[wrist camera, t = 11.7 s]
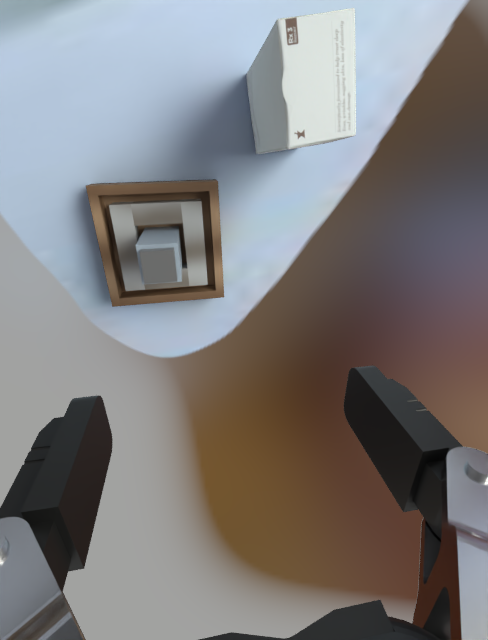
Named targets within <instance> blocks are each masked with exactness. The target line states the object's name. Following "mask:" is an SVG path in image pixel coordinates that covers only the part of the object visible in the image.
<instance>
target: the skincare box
mask: <svg viewBox="0 0 488 640" xmlns="http://www.w3.org/2000/svg"><path fill="white" fill-rule="evenodd" d="M246 77H247V87H248V95H249V104H250V112H251V120H252V128H253V134H254V139H255V149H256V154H264V153H270V152H276V151H282V150H289V149H295V148H301V147H306V146H313V145H318V144H324V143H329V142H333V141H337V140H341V139H345V138H348V137H352V136H355V134H356V74H355V9H354V8H351V9H344V10H338V11H331V12H326V13H319V14H312V15H304V16H297V17H289V18H282V19H277V21H276V22H275V24H274V26H273V28H272V30H271V31H270V33H269V35H268V37H267V39H266V41H265V42H264V44H263V46H262V47H261V49H260V51H259V53H258V55H257V57H256V58H255V60H254V62H253V64H252V65H251V67H250V69H249V71H248V72H247V74H246Z"/></svg>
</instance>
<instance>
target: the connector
mask: <svg viewBox="0 0 488 640" xmlns="http://www.w3.org/2000/svg"><path fill="white" fill-rule="evenodd" d="M136 251H137V257H138V263H139V269H140V275H141V281H142V284H156V283H170V282H182V253H181V243H180V234H179V226H167V227H146V228H145V229H144V231H143V232H142V234H141V236H140V238H139V240H138V242H137V244H136Z"/></svg>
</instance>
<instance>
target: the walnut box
mask: <svg viewBox="0 0 488 640" xmlns="http://www.w3.org/2000/svg"><path fill="white" fill-rule="evenodd" d="M86 189H87V194H88V198H89V203H90V207H91V212H92V216H93V221H94V225H95V230H96V234H97V239H98V243H99V248H100V252H101V257H102V261H103V266H104V270H105V275H106V279H107V284H108V288H109V293H110V297H111V302H112V307H113V306H125V305H137V304H149V303H161V302H172V301H184V300H196V299H208V298H220V297H224V287H223V268H222V249H221V231H220V212H219V194H218V181H217V180H216V179H213V180H184V181H156V182H128V183H100V184H90V185H87V186H86ZM167 226H179V234H180V243H181V253H182V282H170V283H156V284H142V281H141V275H140V269H139V263H138V257H137V251H136V244H137V242H138V240H139V238H140V236H141V234H142V232H143V231H144V229H145V228H146V227H167Z"/></svg>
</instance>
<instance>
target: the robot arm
mask: <svg viewBox="0 0 488 640" xmlns="http://www.w3.org/2000/svg"><path fill="white" fill-rule="evenodd" d="M344 412H345V416H346V419H347V421H348V423H349V425H350V426H351V428H352V430H353V431H354V433H355V435H356V436H357V438H358V439H359V441H360V443H361V444H362V446H363V447H364V449H365V451H366V452H367V454H368V456H369V457H370V458H371V460H372V462H373V464H374V465H375V467H376V469H377V470H378V472H379V474H380V475H381V477H382V478H383V480H384V482H385V483H386V485H387V486H388V488H389V490H390V491H391V493H392V494H393V496H394V498H395V499H396V501H397V503H398V504H399V506H400V507H401V509H402V510H403V512H407V511H412V510H418V509H419V511H420V512H421V514H422V515H423V517H424V518H423V520H422V524H421V545H420V564H419V585H418V596H417V602H416V606H415V611H414V616H413V623H409V622H407V621H404V620H400V619H397V618H393V617H388V616H387V614H386V612H385V610H384V608H383V605H382V603H381V601H380V600H377V601H372V602H368V603H363V604H359V605H354V606H350V607H345V608H341V609H336V610H333V611H332V612H330V613H329V614H327V615H325V616H324V617H322V618H321V619H319V620H317V621H316V622H314V623H313V624H311V625H310V626H308V627H307V628H305V629H303V630H302V631H300V632H299V633H297V634H296V635H294V636H292V637H290V638H286V639H281V638H273V637H265V636H257V635H248V634H239V633H227V634H222V635H218V636H213V637H209V638H205V639H200V640H488V454H487V453H485V452H483V451H480V450H477V449H474V448H469V447H463V446H462V445H461V444H460V443H459V442H458V441H457V440H456V439H455V438H454V437H453V436H452V435H451V434H450V433H449V431H448V430H446V428H444V426H443V425H442V424H441V423H440V422H439V421H438V420H437V419H436V418H435V417H434V416H433V415H432V414H431V413H430V412H429V411H426V408H425V407H424V405H423V404H422V403H421V402H419V401H418V400H417V398H416V397H415V396H414V395H413V394H412V393H411V392H410V391H409V390H408V389H407V388H406V387H404V386H403V385H401V384H399V383H398V382H396V381H394V380H393V379H387V378H386V377H385V376H384V375H383V374H382V373H381V372H380V370H379V369H378V368H377V367H375V366H366V367H357V368H351V369H350V371H349V374H348V381H347V387H346V393H345V400H344ZM111 453H112V433H111V429H110V425H109V422H108V418H107V414H106V410H105V406H104V403H103V400H102V397H101V396H91V397H82V398H74V399H72V401H71V402H70V404H69V407H68V409H67V411H66V413H65V416H64V417H60V418H54V419H53V420H52V421H51V422H49V423H48V424H47V425H46V427H44V428H43V429H42V430H41V431H40V432H39V434H38V436H37V438H36V440H35V442H34V444H33V446H32V448H31V451H30V452H29V453H28V456H27V457H26V459H25V464H24V465H22V467H21V469H20V471H19V473H18V475H17V477H16V479H15V481H14V483H13V485H12V486H11V488H10V490H9V492H8V494H7V496H6V498H5V500H4V502H3V504H2V506H1V508H0V640H86V639H85V637H84V635H83V633H82V631H81V629H80V627H79V625H78V623H77V620H76V618H75V616H74V614H73V612H72V610H71V608H70V606H69V604H68V602H67V600H66V598H65V595H64V593H63V587H64V584H65V580H66V577H67V573H68V571H73V570H78V569H84V566H85V562H86V558H87V554H88V550H89V545H90V541H91V537H92V533H93V528H94V524H95V520H96V516H97V512H98V508H99V503H100V499H101V495H102V491H103V486H104V483H105V478H106V474H107V470H108V465H109V462H110V457H111Z"/></svg>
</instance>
